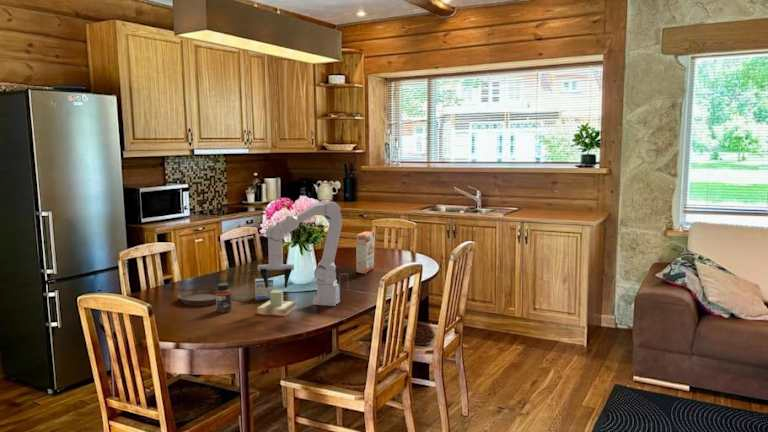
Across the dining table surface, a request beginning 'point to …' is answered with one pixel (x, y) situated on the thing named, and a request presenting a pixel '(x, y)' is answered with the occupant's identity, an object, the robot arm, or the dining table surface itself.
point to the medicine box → (263, 289)
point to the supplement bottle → (223, 298)
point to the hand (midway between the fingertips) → (276, 287)
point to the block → (276, 298)
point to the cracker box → (364, 252)
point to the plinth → (276, 308)
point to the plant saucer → (198, 296)
